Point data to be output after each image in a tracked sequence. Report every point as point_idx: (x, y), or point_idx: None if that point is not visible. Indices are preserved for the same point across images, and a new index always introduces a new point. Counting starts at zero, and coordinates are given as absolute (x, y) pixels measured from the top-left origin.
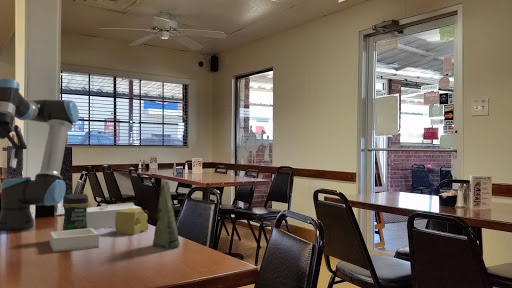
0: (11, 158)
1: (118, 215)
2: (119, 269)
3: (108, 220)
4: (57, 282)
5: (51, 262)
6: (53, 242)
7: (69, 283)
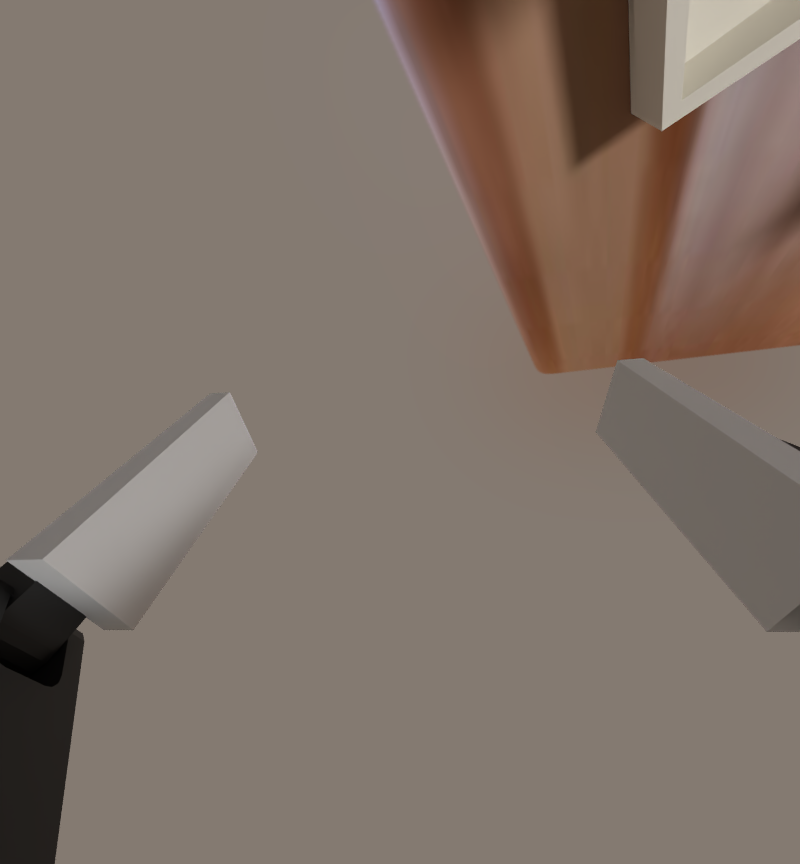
0: (650, 484)
1: None
2: (760, 289)
3: None
4: None
5: (615, 255)
6: (650, 111)
7: None
